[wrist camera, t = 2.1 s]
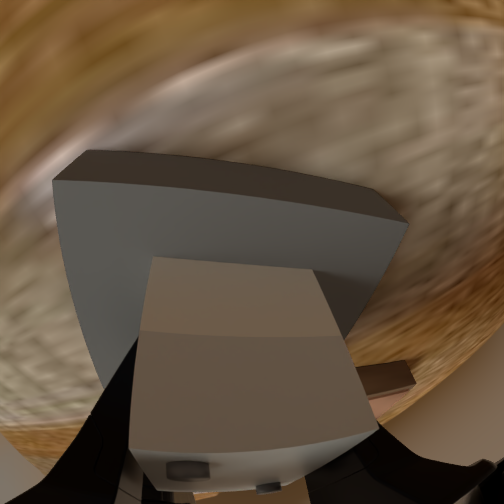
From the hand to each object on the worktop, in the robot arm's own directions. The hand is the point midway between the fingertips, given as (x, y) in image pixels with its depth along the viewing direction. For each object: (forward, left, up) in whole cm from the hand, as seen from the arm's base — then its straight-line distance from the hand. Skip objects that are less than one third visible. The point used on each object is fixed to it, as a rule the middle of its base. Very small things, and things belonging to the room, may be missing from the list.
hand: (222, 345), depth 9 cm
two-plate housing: (0, 0, 0) cm, 0 cm away
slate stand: (0, 0, -3) cm, 3 cm away
